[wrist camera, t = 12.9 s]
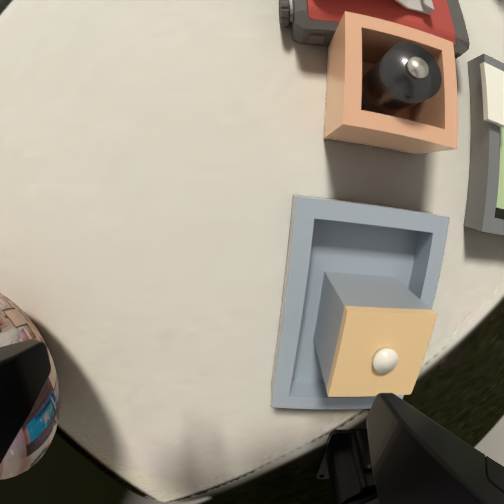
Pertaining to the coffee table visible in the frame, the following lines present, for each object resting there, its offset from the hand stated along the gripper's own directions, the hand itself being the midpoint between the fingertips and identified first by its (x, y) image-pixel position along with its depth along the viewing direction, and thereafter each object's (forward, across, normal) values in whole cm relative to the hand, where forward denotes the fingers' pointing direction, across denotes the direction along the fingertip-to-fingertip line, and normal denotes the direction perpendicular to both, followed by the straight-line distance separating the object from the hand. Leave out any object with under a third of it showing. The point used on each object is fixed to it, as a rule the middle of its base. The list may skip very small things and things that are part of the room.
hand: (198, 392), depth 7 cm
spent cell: (+12, -7, -11) cm, 18 cm away
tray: (+12, -7, +2) cm, 15 cm away
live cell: (+12, -7, +2) cm, 14 cm away
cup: (+12, -7, -11) cm, 18 cm away
